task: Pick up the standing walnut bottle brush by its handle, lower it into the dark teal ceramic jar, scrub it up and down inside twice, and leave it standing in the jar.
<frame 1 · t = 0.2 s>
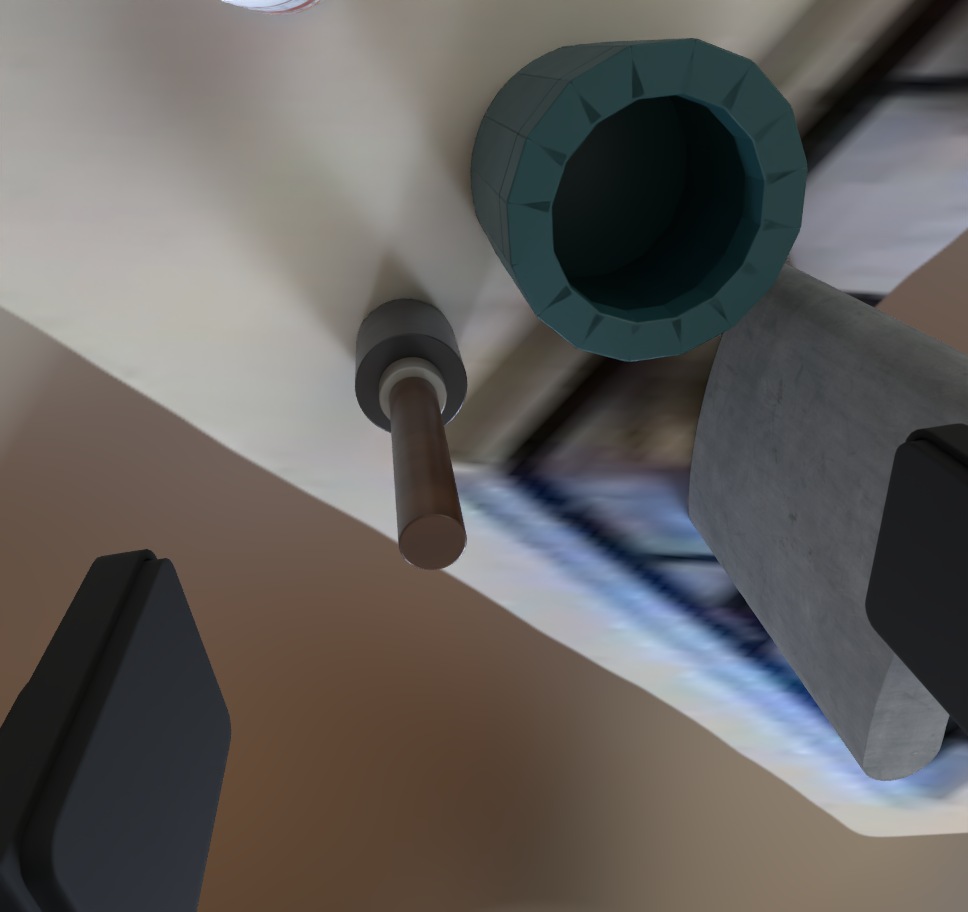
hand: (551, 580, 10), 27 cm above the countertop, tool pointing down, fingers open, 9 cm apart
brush: (406, 346, 36), on the countertop
jar: (582, 173, 33), on the countertop
hip flask: (730, 406, 40), on the countertop
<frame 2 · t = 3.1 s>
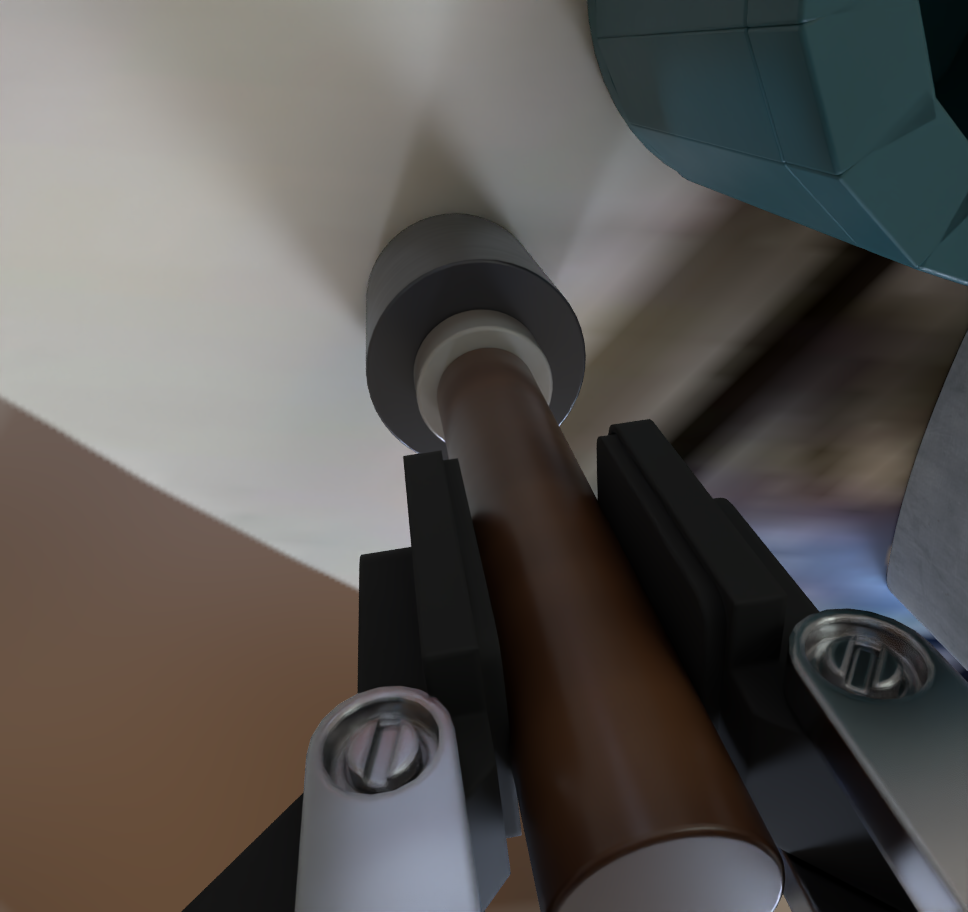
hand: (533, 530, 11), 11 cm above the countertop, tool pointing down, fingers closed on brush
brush: (454, 303, 20), on the countertop, touching gripper
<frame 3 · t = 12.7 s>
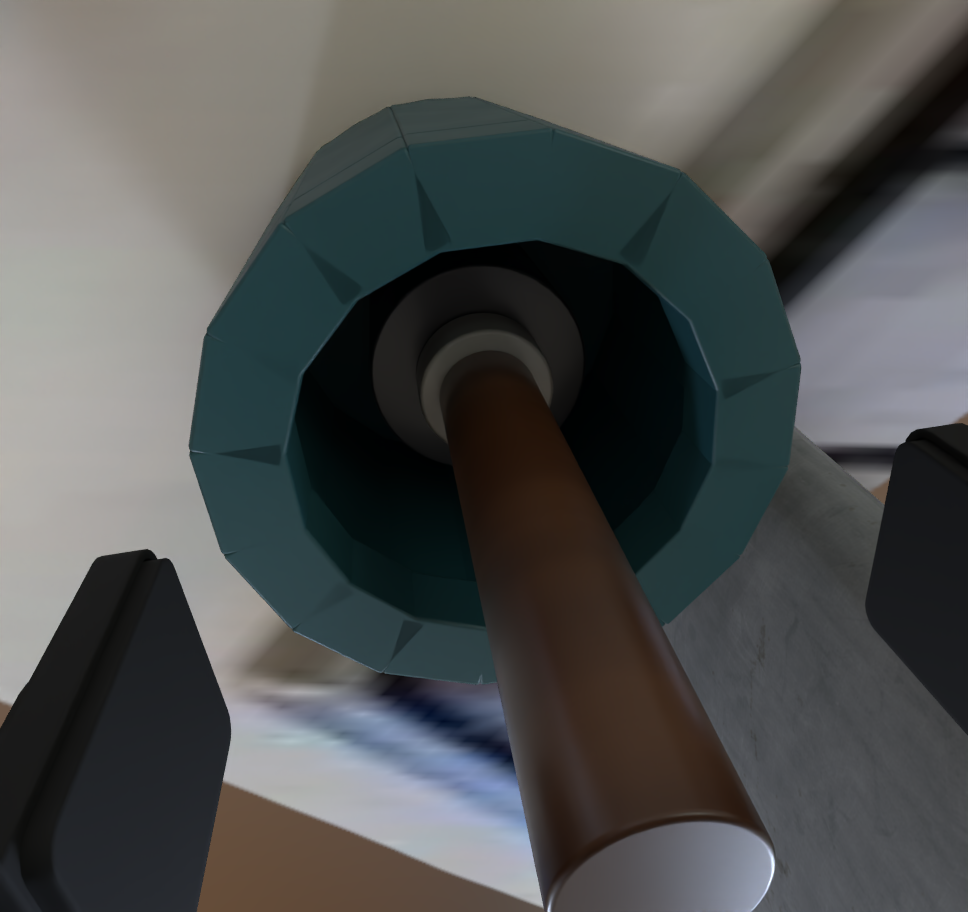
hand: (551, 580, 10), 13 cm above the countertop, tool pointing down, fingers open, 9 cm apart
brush: (456, 306, 21), point 1 cm above the countertop, touching jar
jar: (451, 294, 21), on the countertop
hip flask: (697, 596, 28), on the countertop
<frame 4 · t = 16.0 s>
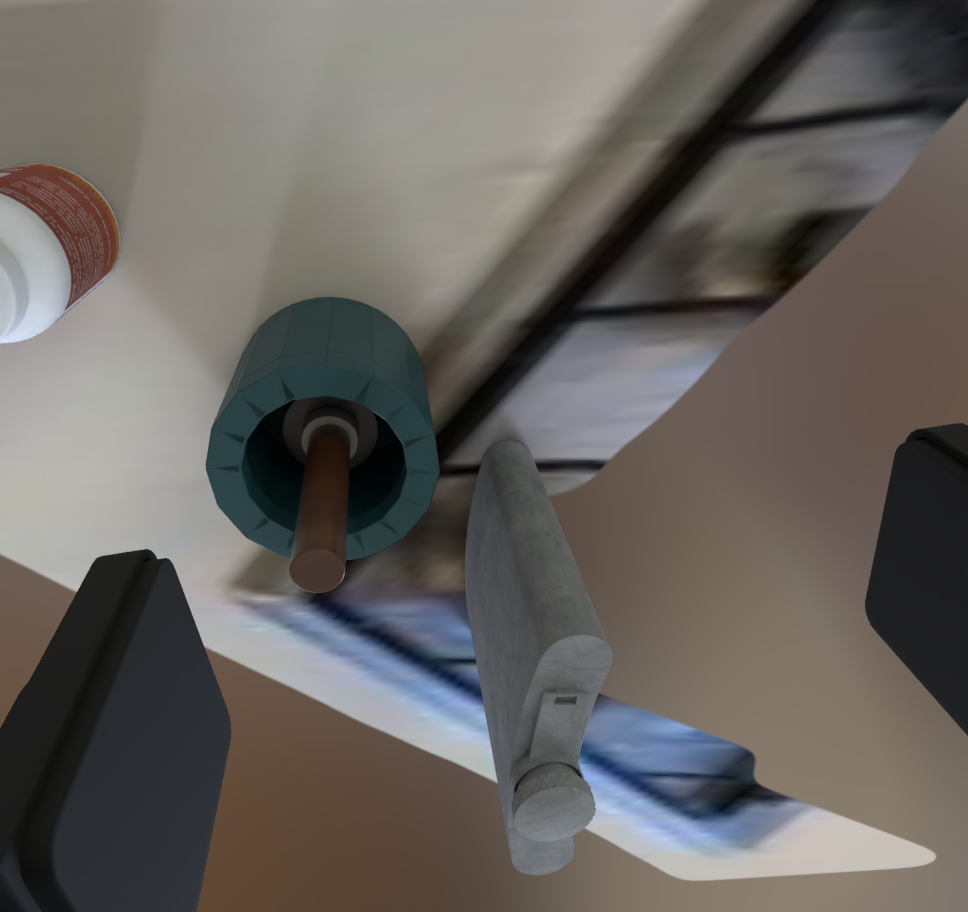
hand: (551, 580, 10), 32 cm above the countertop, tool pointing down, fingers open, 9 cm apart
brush: (334, 391, 42), point 1 cm above the countertop, touching jar
jar: (334, 384, 42), on the countertop
pill bottle: (58, 227, 36), on the countertop
hip flask: (492, 545, 49), on the countertop
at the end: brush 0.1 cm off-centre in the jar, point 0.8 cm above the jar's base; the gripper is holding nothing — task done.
